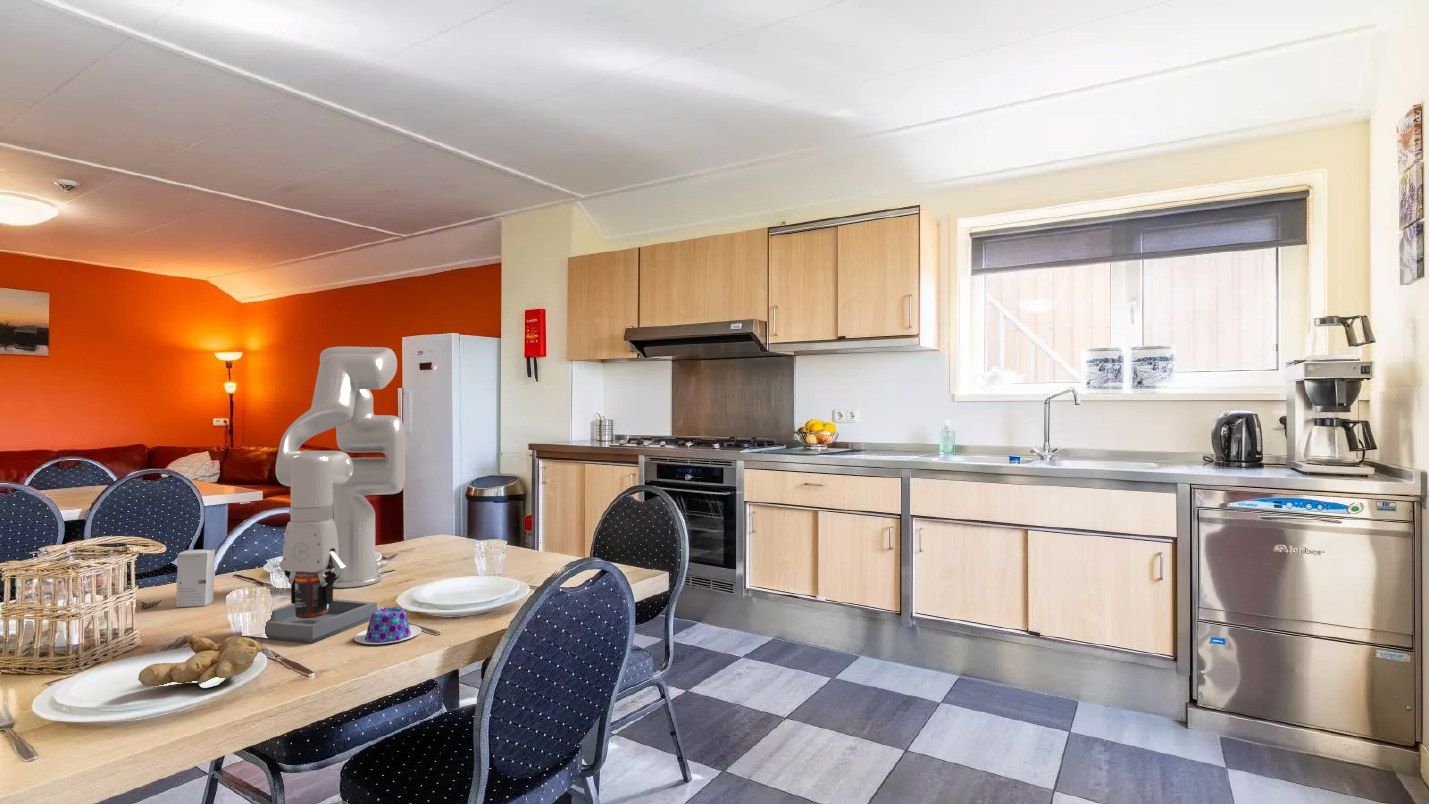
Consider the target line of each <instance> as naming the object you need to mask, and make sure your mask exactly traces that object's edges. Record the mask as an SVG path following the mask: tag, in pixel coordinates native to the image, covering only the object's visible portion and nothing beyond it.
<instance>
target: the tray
mask: <svg viewBox="0 0 1429 804" xmlns="http://www.w3.org/2000/svg"><path fill="white" fill-rule="evenodd" d="M328 606H329V607H328V612H327V613H326V614H325V615H322V616H319V617H315V618H306V619H303V618H298V617H296V615H295V613H296V612H295V604H292V603H289V604H287V605H284V606H280V607H277V608H274V609H272V610H273V611H272V615H271V619H270V620H268V621H267V622H266V626H265V634H266V636H267V637H268V638H269V639H268V640H271V641H272V640H274V641H285V642H291V643H292V642H295V643H303V644H315V643H317V642H320V641H323V640H325V639H327V638H328V639H329V638H330V637H332V636H334V635H338V634H340V633H343V632H346V631H347V630H350V629H352V628H353V629H354V627H355V628H356V627H357V626H360V625H363V624H366V623H367V622H368V623H369V622H370V618H371V615H372V613H373V612H375V611H377V610H378V603H377V602H373V601H361V600H348V599H335V598H333V602H332V603H330V604H328Z"/></svg>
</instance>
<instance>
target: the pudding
mask: <svg viewBox="0 0 1429 804" xmlns="http://www.w3.org/2000/svg"><path fill="white" fill-rule="evenodd" d="M408 621H409V620H408V618H407V612H406V611H405V609H404V608H401V607H397V606H394V607H385V608H380V609H377V611H375V612H373V613H372V615H371V618H370V621H368V626H367V629H365V630H363V631H360V632H359V633H357V634H356V635H354V637H353V640H354V641H355V642H357V643H360V644H365V645H387V644H392V643H397V642H402V641H407V640H409V639H412V638H414V637H416V636H418V635H419V634H420V633H421V632H422V628H421V627H420V626H418V625H415V624H409V622H408ZM366 640H367V641H366Z"/></svg>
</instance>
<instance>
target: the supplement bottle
mask: <svg viewBox="0 0 1429 804" xmlns="http://www.w3.org/2000/svg"><path fill="white" fill-rule="evenodd" d="M325 576H326V577H327V573H325ZM319 586H322V585H321V583H320V580H319V577H318V574H317V573H302V572H297V573H296V574H295V612H296V613H295V615H296V617H298V618H303V619H306V618H315V617H319V616H322V615H325V614H326V613H327V612H328V607H329V606H328V604H327V605H324V606H319V605H318V587H319Z"/></svg>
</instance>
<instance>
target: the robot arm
mask: <svg viewBox="0 0 1429 804" xmlns="http://www.w3.org/2000/svg"><path fill="white" fill-rule="evenodd" d="M397 370H398V359H397V356H396V353H395V352H394V351H393V350H392V348H390V347H382V346H378V347H377V346H333V347H328V348H326V349H324V350H322V351H321V352H320V355H319V367H318V371H317V376H316V381H315V387H314V391H313V398H312V402H311V407H310V409H309V410H307V411H305V412H304V413H303V414H302V415H300V416H298V418H297V419H295V421H294V422H292V423H291V424H290V426H288V428H287V429H286V430H285V431H284V434H283V435H282V438H281V439H280V443H279V448H278V452H277V455H276V462H275V476H276V479H277V481H278V482H279V483H280V484H281V485H283V486H286V487H290V508H289V510H288V514H289V515H290V521H288V522H287V525H286V527H285V531H284V538H283V548H282V560H281V561H280V562H279V565H278V566H279V567H280V569H281V570H282V571H283V572H284V575H285V576H286V578H287V581H288V583H289V584H290V594H291V595H290V602H291V603H290V604H295V574H296V573H297V572H302V573H317V574H318V577H319V580H320V583H321V585H322V586H319V587H318V605H319V606H324V605H327V604H330V603H332V602H333V599H334V588H337V589H338V588H341V589H342V588H345V589H346V588H355V587H363V586H368V585H373V584H376V583H378V582H379V583H380V581H382V578H383V575H382V573H380V572H378V571H379V570H380V569H382V568H385V567H387V566H388V561H387V560H386V559H381V560H376V511H375V509H374V507H373V505H372V504H371V503H370V501H369V500H368V499H367V498H366V496H377V495H379V496H380V495H381V496H382V495H395V494H399V493H400V492H402V491H403V490H404V487H405V483H406V432H405V424H404V422H403V420H402V419H401V418H400V417H398V416H396V415H391V414H390V415H388V414H386V415H385V414H384V415H382V414H381V415H377V414H375V413H374V395H373V393H372V391H371V390H382V389H384V388H386V387H387V386H388V384H390V382H392V381H393V380H394V377H395V376H396V373H397ZM335 428H336V429H335ZM332 429H335V430H336V433H335V435H336V444H337V447H338V449H340V450H300V448H301V447H302V445H303V444H304V443H306V441H308V440H309V439H311V438H312V437H315V436H317V435H319V434H322V433H324V432H327V431H329V430H332ZM348 453H383V454H384V455H385V457H351V456H350V455H349V454H348ZM325 573H327V577H326V576H325Z"/></svg>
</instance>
